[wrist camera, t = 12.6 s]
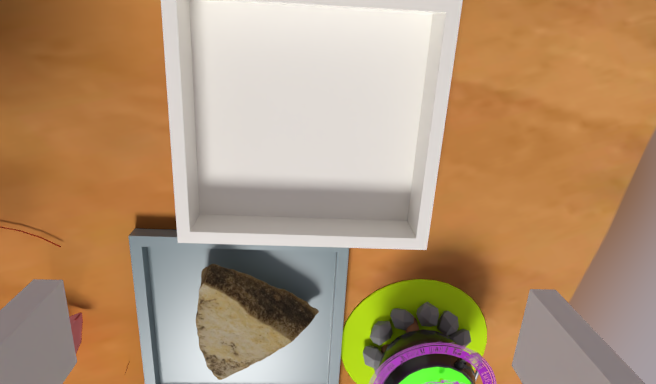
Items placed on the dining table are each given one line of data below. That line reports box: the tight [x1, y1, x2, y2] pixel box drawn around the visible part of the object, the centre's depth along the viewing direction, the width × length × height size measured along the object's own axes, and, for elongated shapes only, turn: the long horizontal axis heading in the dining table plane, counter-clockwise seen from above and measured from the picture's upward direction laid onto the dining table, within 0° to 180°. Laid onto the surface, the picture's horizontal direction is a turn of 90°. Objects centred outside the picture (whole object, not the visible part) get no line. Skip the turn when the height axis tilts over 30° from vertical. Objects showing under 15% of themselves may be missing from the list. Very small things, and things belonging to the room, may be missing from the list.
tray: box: [129, 228, 349, 384], centre depth 43 cm, size 19×19×2 cm
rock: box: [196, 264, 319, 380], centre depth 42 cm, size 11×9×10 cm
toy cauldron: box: [341, 279, 496, 384], centre depth 40 cm, size 15×15×11 cm
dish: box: [161, 0, 463, 250], centre depth 35 cm, size 20×19×4 cm
